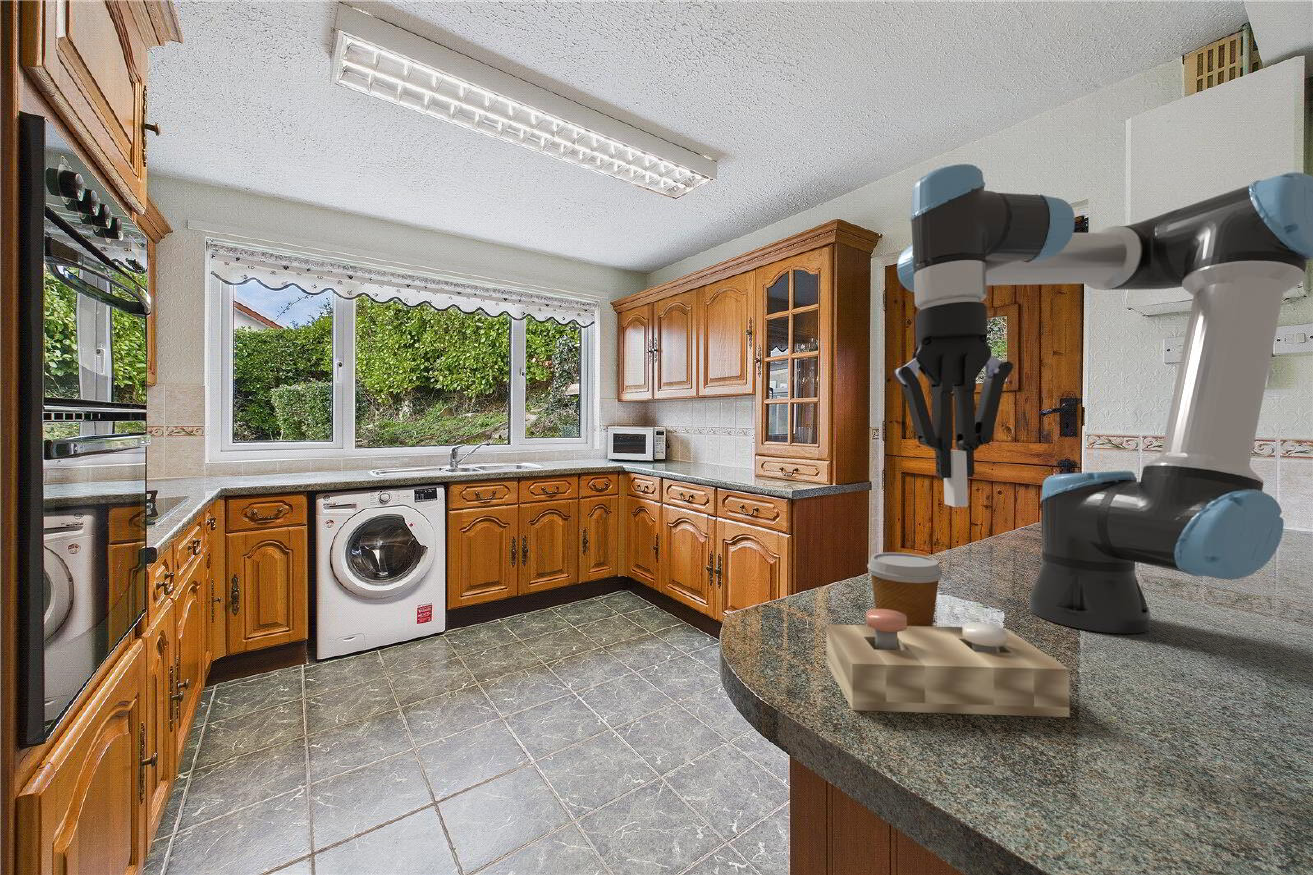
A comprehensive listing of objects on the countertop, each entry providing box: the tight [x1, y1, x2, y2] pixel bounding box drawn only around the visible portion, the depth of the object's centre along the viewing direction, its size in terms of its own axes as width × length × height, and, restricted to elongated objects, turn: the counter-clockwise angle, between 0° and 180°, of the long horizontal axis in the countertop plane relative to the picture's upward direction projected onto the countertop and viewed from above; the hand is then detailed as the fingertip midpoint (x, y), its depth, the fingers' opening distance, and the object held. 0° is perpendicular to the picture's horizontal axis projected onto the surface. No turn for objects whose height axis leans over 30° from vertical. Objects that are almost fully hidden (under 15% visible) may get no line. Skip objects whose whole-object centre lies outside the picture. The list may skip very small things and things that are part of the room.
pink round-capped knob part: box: [865, 608, 907, 650], centre depth 64 cm, size 4×4×5 cm
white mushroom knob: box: [961, 621, 1007, 653], centre depth 63 cm, size 4×4×5 cm
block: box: [825, 623, 1070, 718], centre depth 64 cm, size 22×12×5 cm, turn 86°
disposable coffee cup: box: [866, 552, 943, 627], centre depth 76 cm, size 10×10×12 cm
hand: (955, 505), depth 65 cm, fingers closed
